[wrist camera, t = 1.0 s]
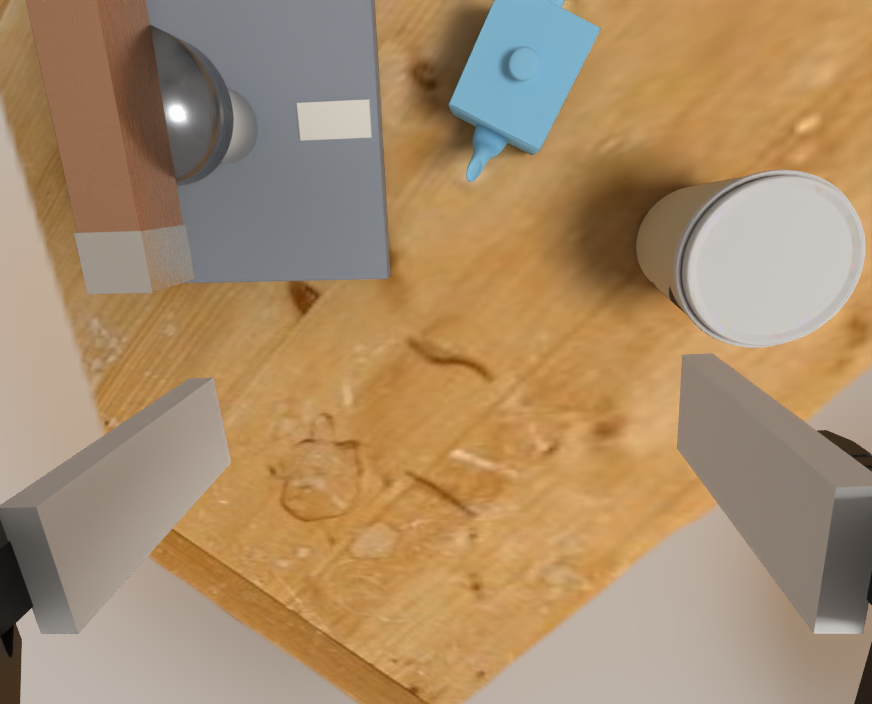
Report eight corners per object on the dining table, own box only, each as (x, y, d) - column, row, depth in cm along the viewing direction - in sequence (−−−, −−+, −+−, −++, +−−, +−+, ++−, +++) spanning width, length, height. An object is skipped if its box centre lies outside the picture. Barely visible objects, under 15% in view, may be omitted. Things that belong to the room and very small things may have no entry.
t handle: (63, -68, 29) (-64, -144, 22) (208, -79, 28) (122, -161, 22) (130, 272, 34) (44, 294, 28) (254, 270, 34) (196, 291, 27)
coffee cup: (612, 297, 41) (663, 341, 30) (637, 167, 38) (704, 160, 27) (738, 311, 41) (839, 360, 29) (773, 180, 38) (900, 178, 26)
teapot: (508, 200, 40) (514, 204, 33) (433, 162, 39) (422, 158, 32) (592, 31, 36) (620, -7, 29) (510, -13, 36) (518, -62, 29)
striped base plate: (54, -38, 37) (-64, -99, 29) (371, -62, 36) (338, -134, 27) (119, 281, 44) (37, 303, 36) (390, 275, 42) (369, 297, 34)
